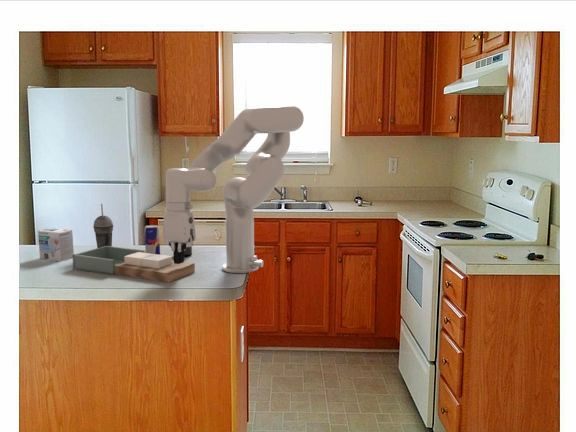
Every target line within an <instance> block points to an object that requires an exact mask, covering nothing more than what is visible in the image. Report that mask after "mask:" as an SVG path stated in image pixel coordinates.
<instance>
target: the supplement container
mask: <svg viewBox="0 0 576 432" xmlns="http://www.w3.org/2000/svg"><path fill="white" fill-rule="evenodd" d="M192 254H193V246H191V247H187V248H186V250H185V251H184V258H186V257H191V256H192Z"/></svg>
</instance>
